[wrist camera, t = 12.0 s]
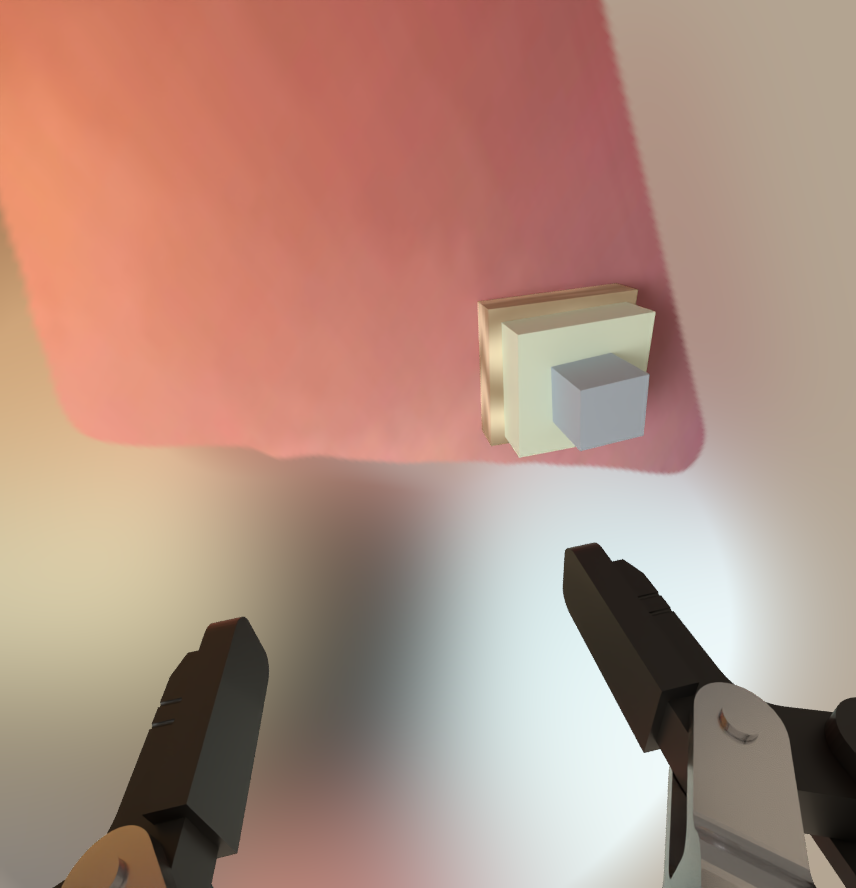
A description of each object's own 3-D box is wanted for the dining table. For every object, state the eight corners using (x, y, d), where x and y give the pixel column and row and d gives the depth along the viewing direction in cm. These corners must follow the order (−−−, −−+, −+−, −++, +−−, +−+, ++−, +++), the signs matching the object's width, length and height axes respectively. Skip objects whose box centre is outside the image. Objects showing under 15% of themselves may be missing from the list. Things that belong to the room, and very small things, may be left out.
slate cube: (550, 366, 33) (580, 390, 29) (611, 352, 33) (649, 374, 29) (552, 421, 36) (580, 451, 31) (608, 408, 36) (643, 435, 31)
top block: (501, 322, 35) (517, 335, 31) (626, 301, 35) (655, 311, 32) (505, 436, 40) (519, 457, 37) (612, 416, 41) (636, 435, 38)
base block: (476, 300, 37) (488, 309, 34) (612, 282, 39) (637, 289, 35) (480, 427, 44) (491, 445, 41) (597, 408, 45) (617, 425, 42)
